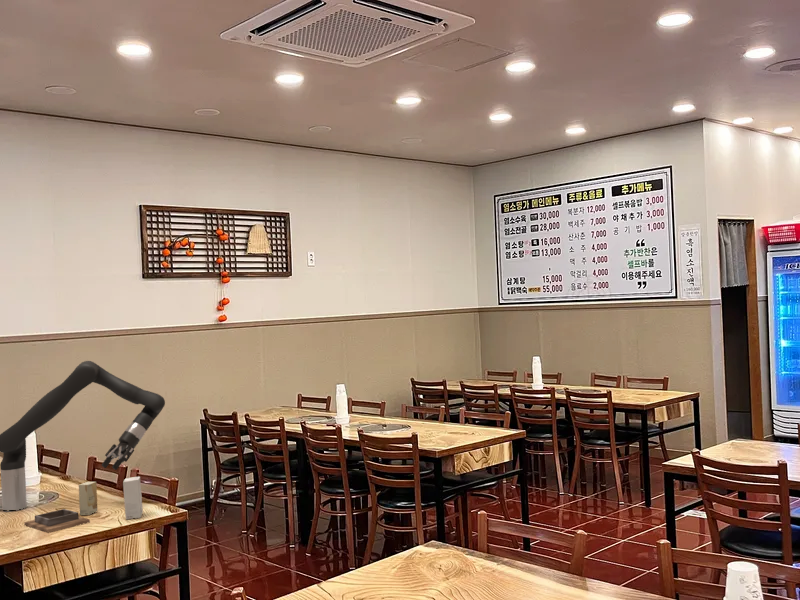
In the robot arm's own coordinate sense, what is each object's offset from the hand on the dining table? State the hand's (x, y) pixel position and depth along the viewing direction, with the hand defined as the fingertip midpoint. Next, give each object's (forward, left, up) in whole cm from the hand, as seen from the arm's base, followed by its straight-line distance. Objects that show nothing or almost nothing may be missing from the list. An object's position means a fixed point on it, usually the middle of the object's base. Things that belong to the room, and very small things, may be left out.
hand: (108, 467), depth 325 cm
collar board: (+4, -24, -17) cm, 30 cm away
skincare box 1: (0, -9, -17) cm, 19 cm away
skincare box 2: (+22, -2, -17) cm, 28 cm away
